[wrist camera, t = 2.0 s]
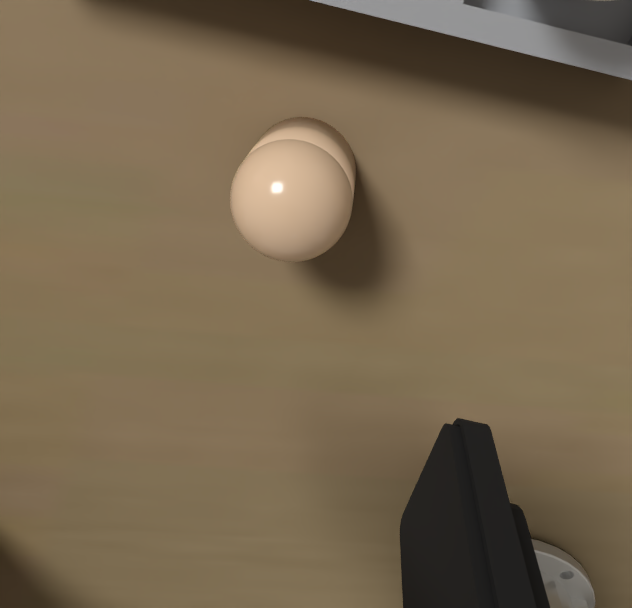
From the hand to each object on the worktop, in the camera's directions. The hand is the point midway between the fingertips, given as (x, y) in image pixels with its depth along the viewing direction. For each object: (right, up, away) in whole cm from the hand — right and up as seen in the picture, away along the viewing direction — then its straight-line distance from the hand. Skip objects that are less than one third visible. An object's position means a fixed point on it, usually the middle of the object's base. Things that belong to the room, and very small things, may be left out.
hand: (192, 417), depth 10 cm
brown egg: (+2, +8, +15) cm, 17 cm away
